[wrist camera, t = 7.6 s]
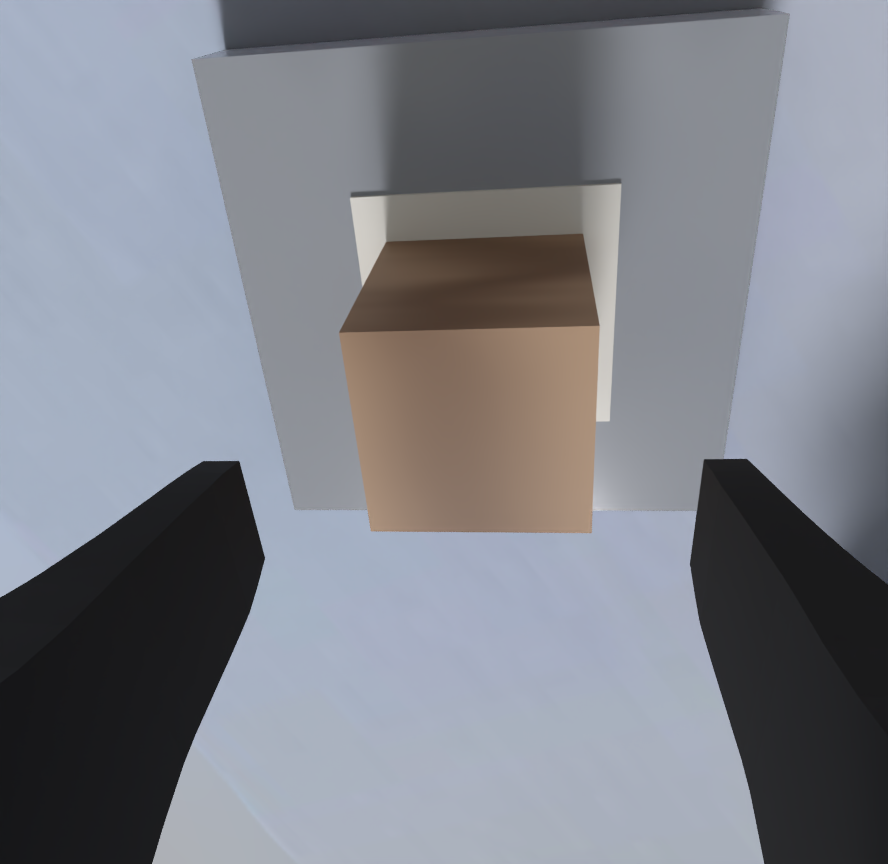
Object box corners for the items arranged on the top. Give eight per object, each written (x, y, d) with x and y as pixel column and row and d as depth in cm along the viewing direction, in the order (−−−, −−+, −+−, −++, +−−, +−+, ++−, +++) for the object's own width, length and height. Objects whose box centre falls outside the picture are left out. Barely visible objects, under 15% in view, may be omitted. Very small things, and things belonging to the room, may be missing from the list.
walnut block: (582, 233, 17) (599, 325, 13) (578, 406, 19) (591, 533, 15) (386, 241, 17) (338, 332, 13) (405, 408, 20) (370, 531, 15)
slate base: (762, 7, 16) (791, 14, 14) (701, 469, 22) (716, 513, 20) (224, 49, 17) (190, 60, 16) (311, 470, 24) (293, 511, 22)
